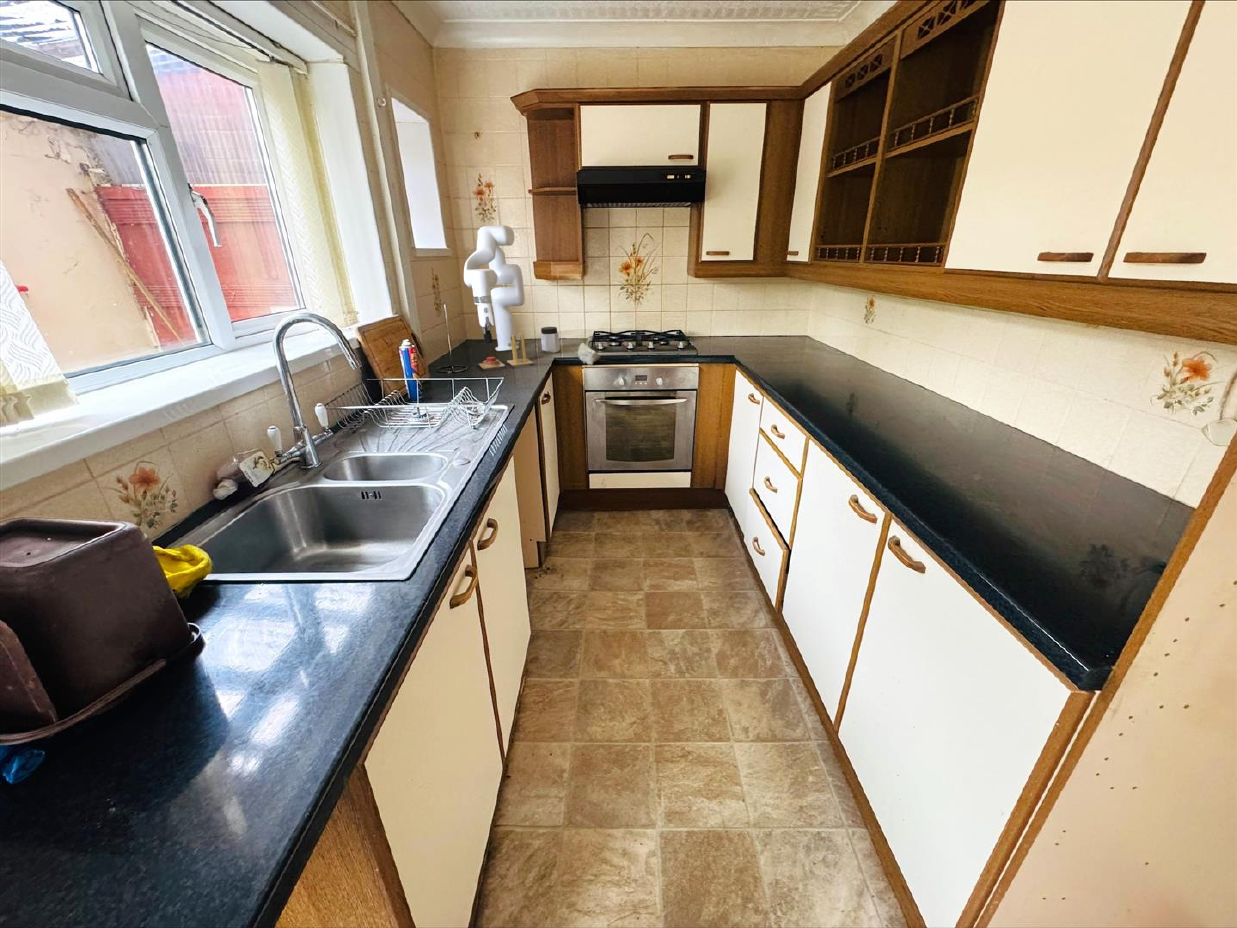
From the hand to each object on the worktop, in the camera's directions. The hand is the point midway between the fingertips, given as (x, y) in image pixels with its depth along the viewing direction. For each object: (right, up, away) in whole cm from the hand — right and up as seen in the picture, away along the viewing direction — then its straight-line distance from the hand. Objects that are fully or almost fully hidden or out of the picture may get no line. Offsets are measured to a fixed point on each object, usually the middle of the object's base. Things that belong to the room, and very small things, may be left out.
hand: (488, 342), depth 228 cm
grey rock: (+47, -9, +4) cm, 48 cm away
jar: (+24, +4, +35) cm, 42 cm away
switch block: (0, -10, +5) cm, 11 cm away
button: (0, -8, +4) cm, 9 cm away
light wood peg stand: (+13, -8, +9) cm, 17 cm away
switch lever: (+11, +2, +8) cm, 14 cm away
